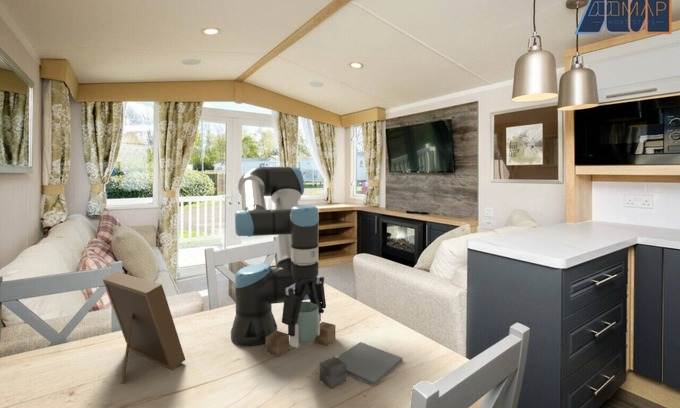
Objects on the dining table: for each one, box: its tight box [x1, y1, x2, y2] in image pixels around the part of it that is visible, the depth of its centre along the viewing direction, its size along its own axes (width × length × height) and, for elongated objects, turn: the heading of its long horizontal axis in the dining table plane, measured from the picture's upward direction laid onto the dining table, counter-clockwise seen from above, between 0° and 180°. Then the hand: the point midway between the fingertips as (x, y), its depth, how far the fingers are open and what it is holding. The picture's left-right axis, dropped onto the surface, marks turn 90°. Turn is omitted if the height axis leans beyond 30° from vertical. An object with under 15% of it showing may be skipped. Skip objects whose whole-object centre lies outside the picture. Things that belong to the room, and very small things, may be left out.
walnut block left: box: [313, 321, 336, 347], centre depth 112 cm, size 5×5×5 cm
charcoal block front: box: [319, 356, 347, 390], centre depth 91 cm, size 5×5×5 cm
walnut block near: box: [265, 330, 290, 358], centre depth 106 cm, size 5×5×5 cm
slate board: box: [335, 341, 403, 387], centre depth 99 cm, size 15×15×1 cm
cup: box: [292, 301, 319, 345], centre depth 98 cm, size 8×8×10 cm
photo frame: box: [102, 271, 186, 385], centre depth 97 cm, size 15×22×25 cm
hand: (305, 339), depth 98 cm, fingers closed on cup, 8 cm apart
